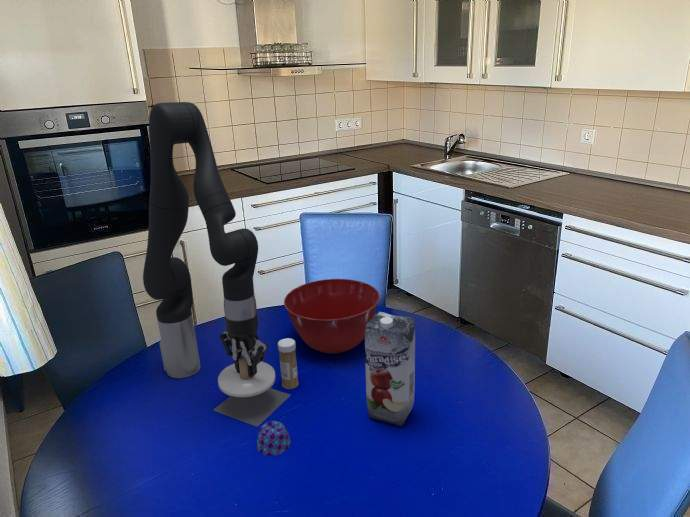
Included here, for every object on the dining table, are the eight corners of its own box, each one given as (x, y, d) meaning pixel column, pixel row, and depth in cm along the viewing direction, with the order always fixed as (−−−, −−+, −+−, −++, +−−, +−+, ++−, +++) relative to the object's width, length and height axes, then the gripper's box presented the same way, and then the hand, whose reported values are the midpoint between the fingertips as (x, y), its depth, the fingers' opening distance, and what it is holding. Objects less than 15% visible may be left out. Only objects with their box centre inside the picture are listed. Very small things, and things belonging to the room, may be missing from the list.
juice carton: (377, 398, 136) (376, 303, 126) (417, 409, 132) (418, 311, 122) (363, 419, 129) (360, 320, 119) (404, 431, 124) (404, 328, 114)
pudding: (311, 443, 122) (309, 424, 120) (273, 474, 114) (271, 454, 112) (274, 422, 129) (272, 404, 127) (236, 450, 121) (233, 431, 119)
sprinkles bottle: (301, 386, 142) (298, 342, 137) (286, 392, 140) (282, 348, 135) (293, 378, 146) (290, 335, 141) (278, 384, 144) (274, 341, 139)
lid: (206, 386, 131) (203, 365, 128) (243, 359, 142) (241, 338, 140) (251, 404, 124) (249, 381, 122) (286, 373, 135) (285, 352, 133)
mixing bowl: (268, 350, 160) (263, 304, 155) (325, 313, 182) (322, 271, 176) (345, 378, 145) (343, 328, 139) (397, 334, 167) (397, 289, 161)
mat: (213, 412, 133) (212, 410, 133) (248, 383, 145) (248, 381, 145) (257, 428, 127) (257, 426, 127) (291, 396, 138) (290, 394, 138)
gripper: (207, 311, 126) (214, 373, 133) (254, 325, 120) (259, 389, 126) (228, 299, 132) (234, 358, 139) (274, 312, 126) (278, 373, 132)
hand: (246, 373), depth 132 cm, fingers closed on lid, 3 cm apart
